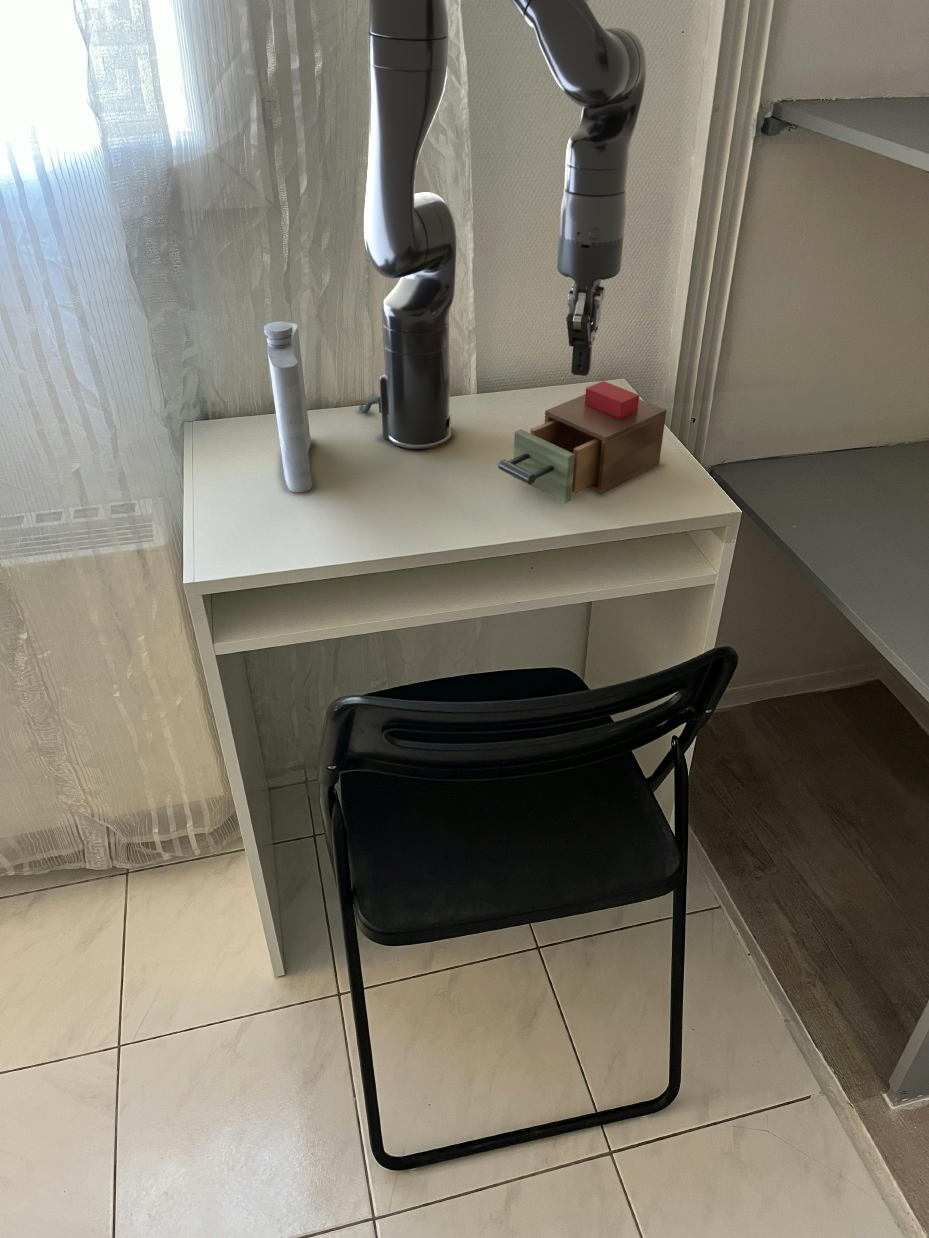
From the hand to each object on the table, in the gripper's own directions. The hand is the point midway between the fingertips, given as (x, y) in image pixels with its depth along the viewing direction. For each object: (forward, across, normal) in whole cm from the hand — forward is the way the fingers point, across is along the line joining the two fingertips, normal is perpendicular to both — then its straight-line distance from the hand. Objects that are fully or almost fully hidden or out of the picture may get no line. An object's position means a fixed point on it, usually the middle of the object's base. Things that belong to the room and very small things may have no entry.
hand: (580, 373), depth 119 cm
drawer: (+14, +3, -2) cm, 15 cm away
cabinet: (+15, -5, +3) cm, 16 cm away
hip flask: (+16, +6, -38) cm, 42 cm away
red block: (+7, -6, +4) cm, 10 cm away
